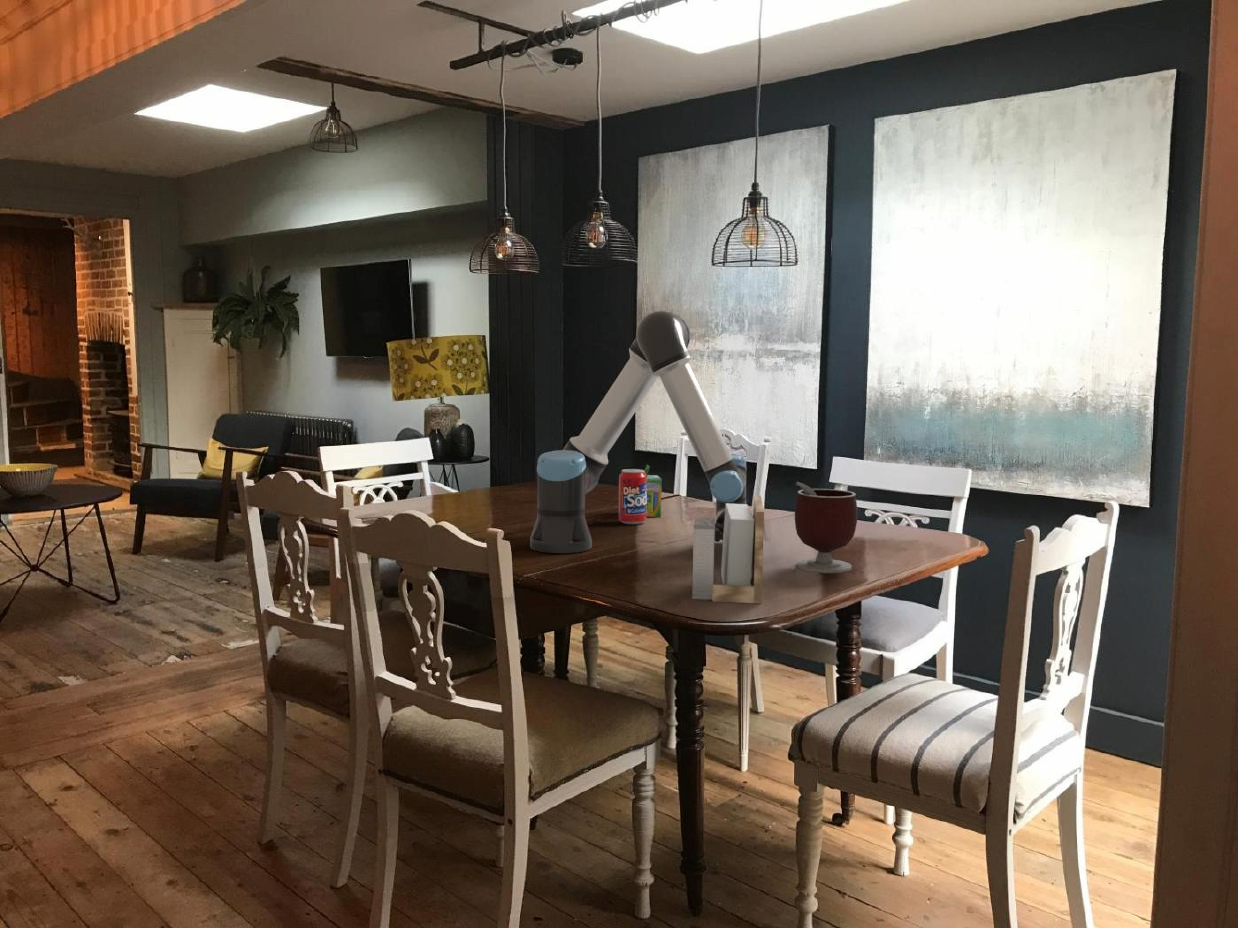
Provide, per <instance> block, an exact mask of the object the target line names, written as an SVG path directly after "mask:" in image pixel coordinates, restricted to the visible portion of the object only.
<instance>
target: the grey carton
mask: <svg viewBox="0 0 1238 928" xmlns="http://www.w3.org/2000/svg"><path fill="white" fill-rule="evenodd" d="M715 523H716V518H707V517H706V518H705V517H704V518H703V517H701V518H700V517H695V518H694V522H693V541H692V542H693V543H692V544H693V548H692V552H693V553H692V595H691V596H692V597H691V599H693V600H710V601H711V600H712V601H713V585H714V580H715V579H714V577H715V576H714V575H715V574H714V572H715V541H714V540H715Z"/></svg>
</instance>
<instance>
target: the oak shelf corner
mask: <svg viewBox="0 0 1238 928" xmlns="http://www.w3.org/2000/svg"><path fill="white" fill-rule="evenodd" d="M752 503H753V510H752V511H753V513H752V516H753V518H754V520H755V521H754V538H753V555H752V572H751V586H735V585H723V584H713V600H712V602H715V603H716V602H719V603H720V602H721V603H742V604H762V599H763V568H764V567H763V563H764V536H765V535H764V533H765V532H764V529H765V510H764V509H765V508H764V505H763V500H762V495H758V494H756V495H755V494H754V495H753V502H752Z"/></svg>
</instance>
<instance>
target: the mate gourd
mask: <svg viewBox="0 0 1238 928" xmlns="http://www.w3.org/2000/svg"><path fill="white" fill-rule="evenodd" d="M795 485H796V486H797V487H799V488H801V489H800V490H798V491H797V497H796V500H795V507H794V524H795V531H796V535H797V536H798V537H799V539H800V541H801V542H802V544H804V545H806V546H808V547H809V548H811V549H813V550H815V551H817V552H818V553H817V555H816V558H804V559H800V560H797V562H796V567H797V568H798V569H800V570H803V571H806V572H812V573H821V574H838V573H839V574H842V573H846V572H849V571H852V567H853V566H852V564H851V563H850V562H846V561H843V560H839V559H833V556H832V555H831V552H834V551H837V550H839V549H841V548H844V547H846V546H848V544H849V543H850V542H851V540H852V539H853V538H854V535H855V533H856V530H857V529H856V528H857V523H858V503H857V498H856V496H857V495H856V493H855V492H853V491H849V490H845V489H833V488H832V489H831V488H811V487H810V486H808V485H806V484H804V483H801V482H799V481H796V483H795Z"/></svg>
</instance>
